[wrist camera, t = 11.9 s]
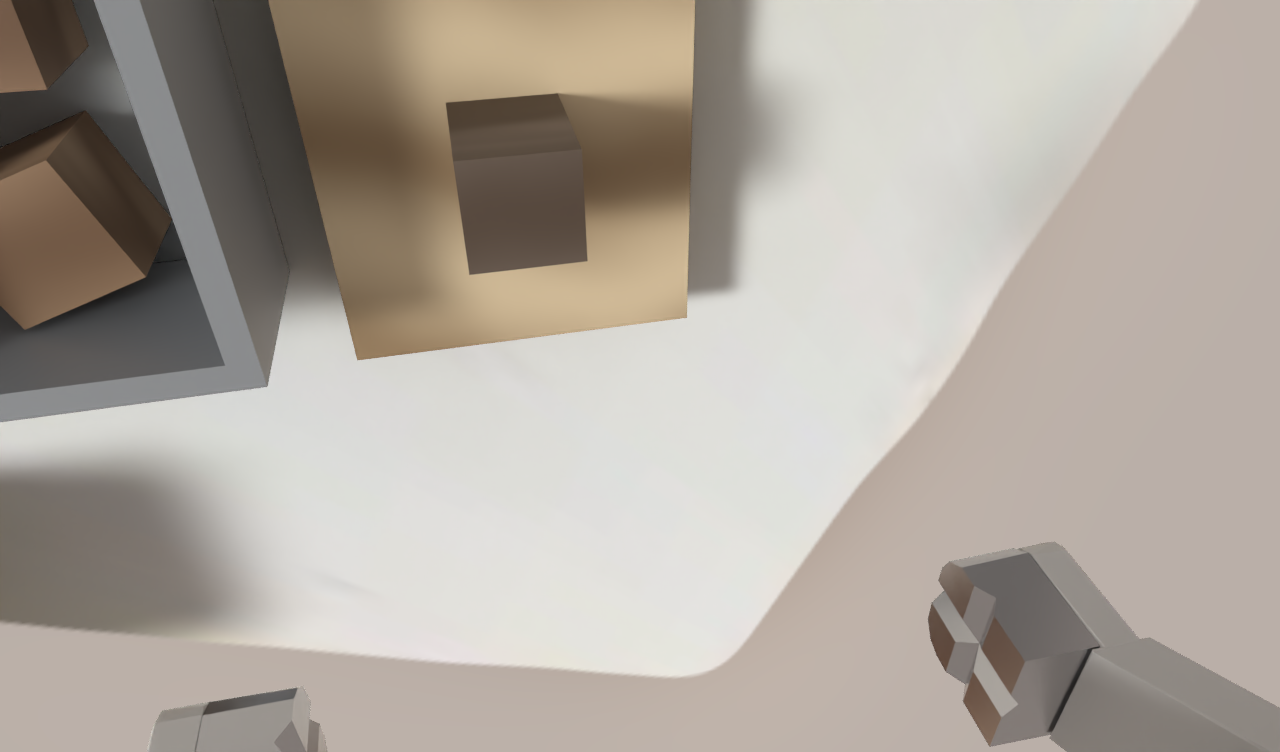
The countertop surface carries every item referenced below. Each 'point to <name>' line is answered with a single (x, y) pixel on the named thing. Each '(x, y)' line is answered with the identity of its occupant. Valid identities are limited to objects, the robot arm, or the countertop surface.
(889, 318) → the countertop surface
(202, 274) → the box
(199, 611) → the countertop surface
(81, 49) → the block
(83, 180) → the block
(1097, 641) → the robot arm
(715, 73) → the countertop surface
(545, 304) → the lid
